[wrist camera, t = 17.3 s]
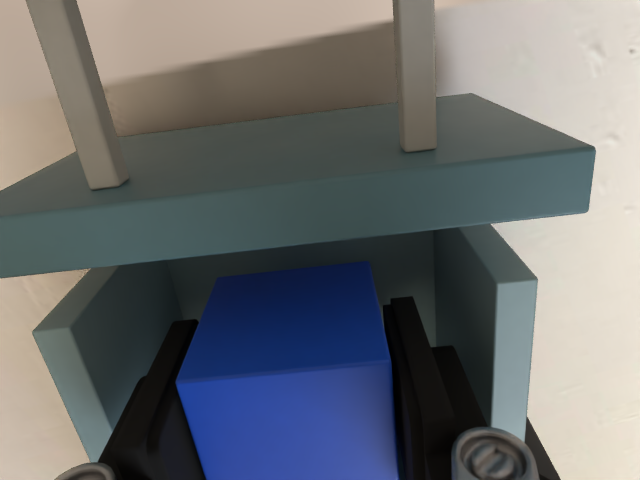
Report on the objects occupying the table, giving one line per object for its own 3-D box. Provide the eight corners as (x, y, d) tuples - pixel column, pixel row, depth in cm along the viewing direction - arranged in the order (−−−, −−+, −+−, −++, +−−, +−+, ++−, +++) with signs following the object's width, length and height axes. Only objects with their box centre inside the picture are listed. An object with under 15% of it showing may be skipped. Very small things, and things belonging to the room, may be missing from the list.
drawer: (38, -48, 12) (-244, -122, 6) (476, -112, 12) (650, -262, 6) (198, 454, 20) (144, 647, 14) (468, 429, 19) (539, 618, 13)
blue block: (216, 276, 12) (173, 382, 9) (369, 259, 12) (391, 360, 8) (244, 393, 14) (218, 525, 10) (379, 380, 14) (402, 509, 10)
